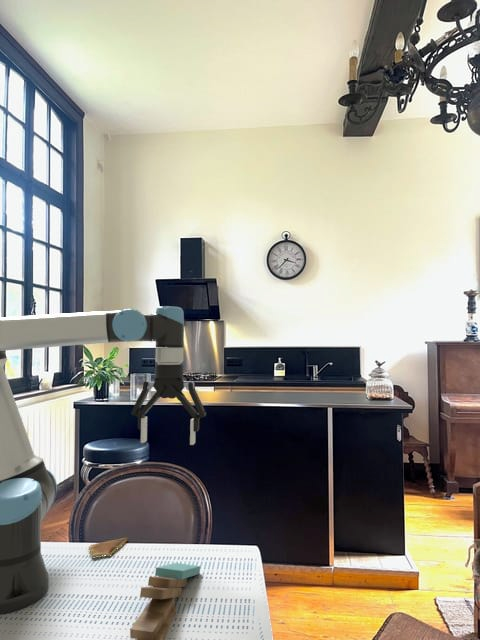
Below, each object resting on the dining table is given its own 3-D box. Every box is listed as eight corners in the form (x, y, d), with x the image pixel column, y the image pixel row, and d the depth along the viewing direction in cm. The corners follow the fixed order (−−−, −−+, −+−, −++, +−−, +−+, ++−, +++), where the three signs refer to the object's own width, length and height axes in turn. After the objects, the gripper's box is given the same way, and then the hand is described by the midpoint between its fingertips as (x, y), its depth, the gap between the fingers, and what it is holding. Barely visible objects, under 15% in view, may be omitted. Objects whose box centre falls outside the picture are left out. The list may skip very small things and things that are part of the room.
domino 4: (161, 594, 96) (139, 596, 86) (162, 585, 97) (141, 587, 87) (180, 596, 95) (160, 599, 85) (181, 587, 95) (161, 589, 86)
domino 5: (155, 613, 91) (135, 651, 80) (155, 605, 91) (135, 641, 80) (176, 615, 90) (159, 653, 79) (176, 607, 90) (159, 643, 79)
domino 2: (174, 570, 107) (154, 575, 97) (175, 562, 108) (156, 567, 98) (199, 573, 105) (181, 579, 95) (200, 566, 106) (182, 571, 96)
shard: (128, 542, 124) (128, 535, 124) (135, 553, 117) (135, 546, 117) (87, 550, 119) (87, 543, 119) (92, 563, 112) (92, 555, 112)
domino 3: (167, 584, 101) (147, 585, 92) (168, 576, 102) (149, 576, 92) (185, 586, 100) (167, 588, 90) (186, 578, 100) (168, 579, 91)
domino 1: (154, 603, 92) (130, 637, 81) (154, 595, 92) (130, 628, 81) (174, 605, 91) (152, 641, 80) (174, 597, 91) (152, 632, 80)
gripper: (217, 363, 122) (216, 441, 121) (130, 362, 126) (129, 438, 124) (211, 364, 115) (210, 447, 114) (120, 363, 118) (118, 444, 117)
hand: (168, 442), depth 119 cm, fingers open, 13 cm apart
